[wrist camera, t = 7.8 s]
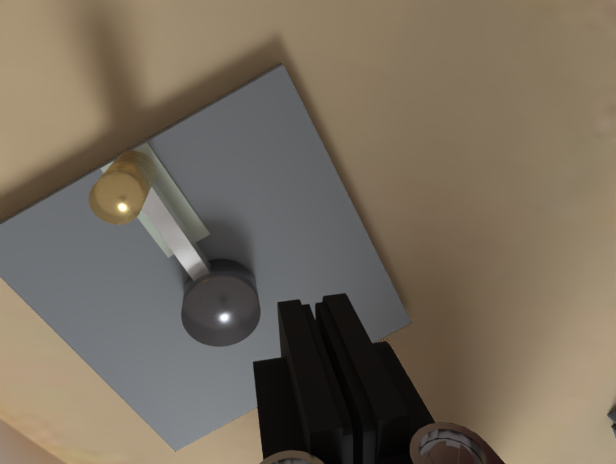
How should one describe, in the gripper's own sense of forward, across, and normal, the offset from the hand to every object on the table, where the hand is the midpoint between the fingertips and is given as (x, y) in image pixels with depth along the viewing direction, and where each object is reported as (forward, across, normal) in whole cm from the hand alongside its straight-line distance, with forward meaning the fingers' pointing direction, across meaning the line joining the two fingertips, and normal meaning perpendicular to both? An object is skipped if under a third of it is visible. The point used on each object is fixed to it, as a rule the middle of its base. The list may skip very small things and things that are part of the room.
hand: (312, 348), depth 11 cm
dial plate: (+21, +3, +9) cm, 23 cm away
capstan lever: (+19, +5, +5) cm, 20 cm away
